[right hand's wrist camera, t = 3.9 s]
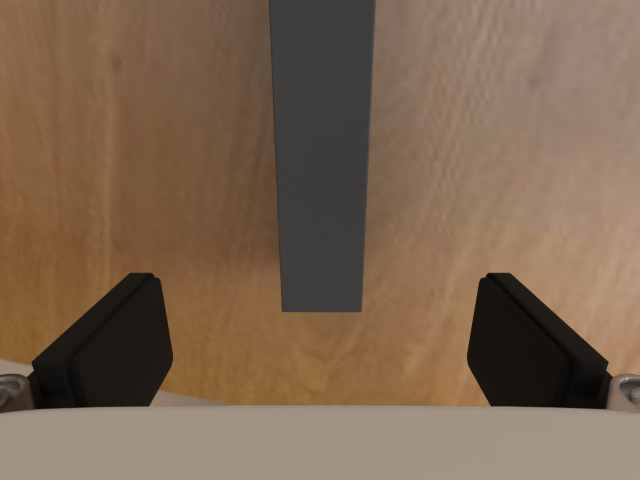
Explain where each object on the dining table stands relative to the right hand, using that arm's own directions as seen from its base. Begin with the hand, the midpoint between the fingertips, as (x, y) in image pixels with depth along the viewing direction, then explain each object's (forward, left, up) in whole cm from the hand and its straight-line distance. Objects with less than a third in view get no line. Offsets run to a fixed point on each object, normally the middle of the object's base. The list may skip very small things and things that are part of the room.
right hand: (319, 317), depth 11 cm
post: (+23, -10, -15) cm, 29 cm away
